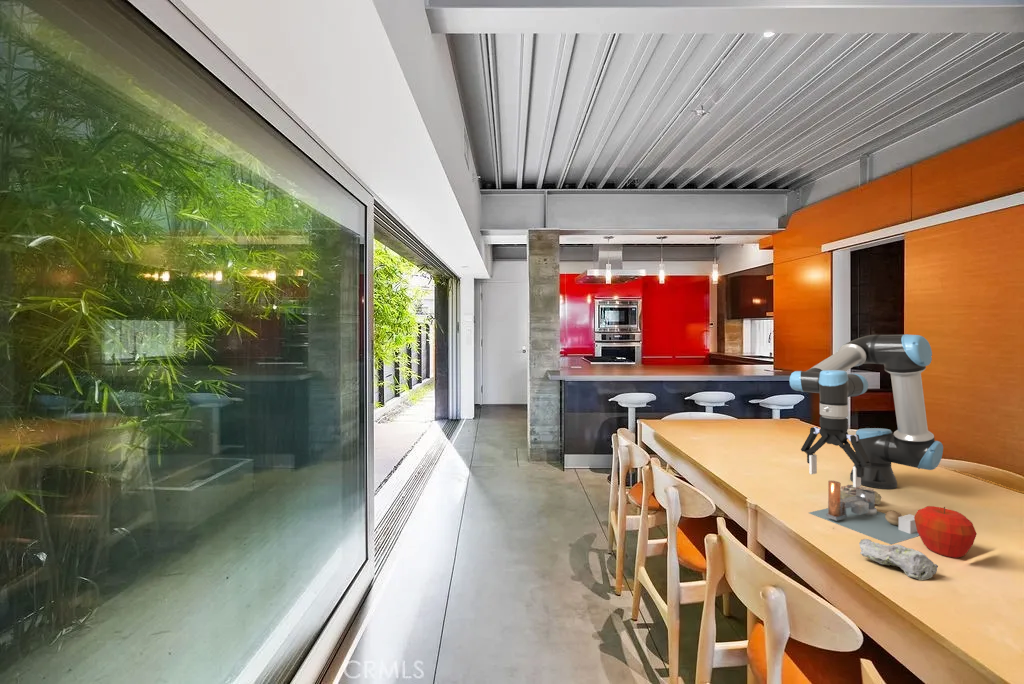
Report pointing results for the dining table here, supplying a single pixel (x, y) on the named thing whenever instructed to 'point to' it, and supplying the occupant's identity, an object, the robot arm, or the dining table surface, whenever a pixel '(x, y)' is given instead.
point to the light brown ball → (893, 517)
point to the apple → (945, 531)
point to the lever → (848, 502)
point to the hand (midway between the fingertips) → (834, 479)
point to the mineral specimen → (899, 558)
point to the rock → (851, 491)
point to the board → (876, 525)
